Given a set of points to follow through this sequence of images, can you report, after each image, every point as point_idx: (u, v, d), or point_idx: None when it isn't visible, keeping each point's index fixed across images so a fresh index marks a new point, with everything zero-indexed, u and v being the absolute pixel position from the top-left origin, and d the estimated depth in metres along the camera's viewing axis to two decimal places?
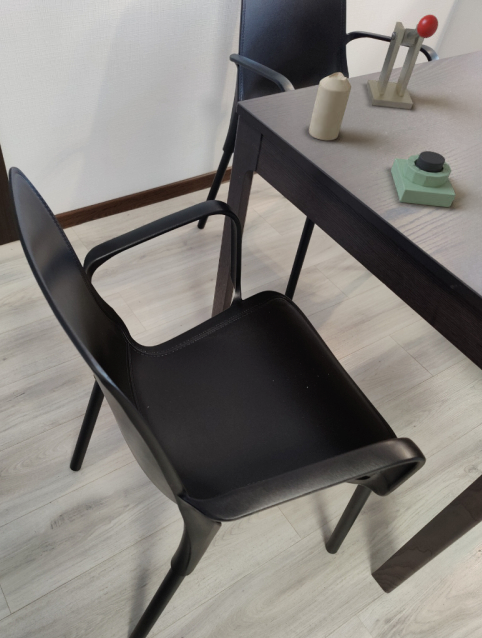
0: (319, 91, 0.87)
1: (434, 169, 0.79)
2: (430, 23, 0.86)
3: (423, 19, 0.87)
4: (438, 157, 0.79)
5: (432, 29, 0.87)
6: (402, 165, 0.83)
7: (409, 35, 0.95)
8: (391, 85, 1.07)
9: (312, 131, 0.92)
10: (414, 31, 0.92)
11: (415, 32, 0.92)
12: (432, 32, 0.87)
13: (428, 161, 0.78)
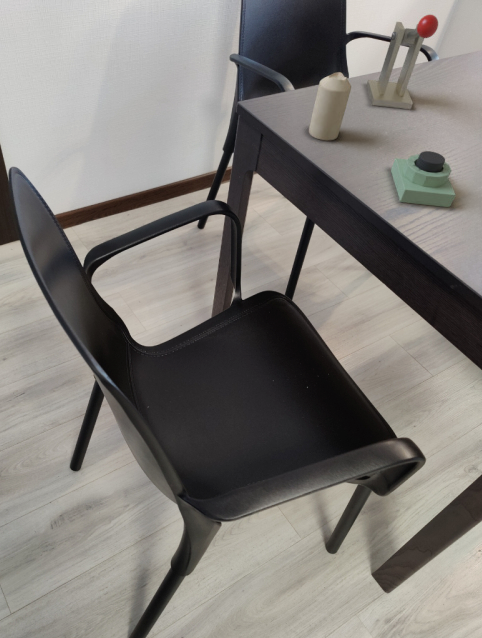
0: (319, 91, 0.87)
1: (434, 169, 0.79)
2: (430, 23, 0.86)
3: (423, 19, 0.87)
4: (438, 157, 0.79)
5: (432, 29, 0.87)
6: (402, 165, 0.83)
7: (409, 35, 0.95)
8: (391, 85, 1.07)
9: (312, 131, 0.92)
10: (414, 31, 0.92)
11: (415, 32, 0.92)
12: (432, 32, 0.87)
13: (428, 161, 0.78)
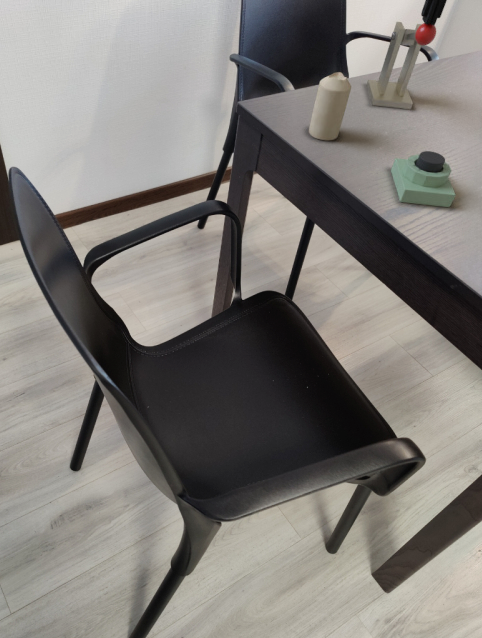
0: (319, 91, 0.87)
1: (434, 169, 0.79)
2: (428, 32, 0.87)
3: (421, 27, 0.87)
4: (438, 157, 0.79)
5: (430, 38, 0.87)
6: (402, 165, 0.83)
7: (409, 37, 0.95)
8: (391, 85, 1.07)
9: (312, 131, 0.92)
10: (413, 35, 0.93)
11: (414, 36, 0.92)
12: (430, 40, 0.88)
13: (428, 161, 0.78)
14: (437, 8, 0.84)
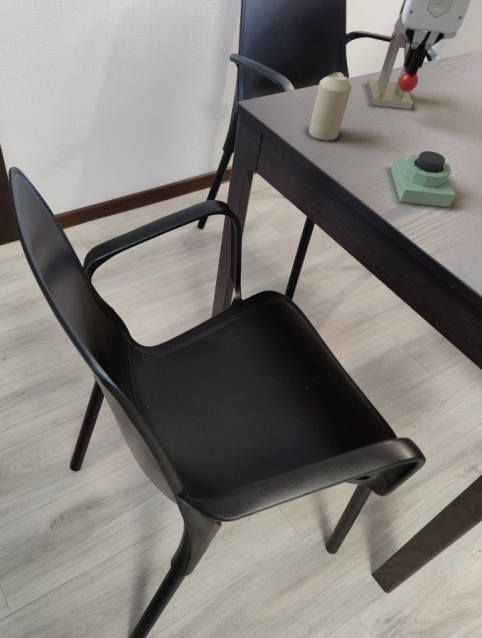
0: (319, 91, 0.87)
1: (434, 169, 0.79)
2: (408, 87, 0.94)
3: (403, 80, 0.93)
4: (438, 157, 0.79)
5: (409, 90, 0.95)
6: (402, 165, 0.83)
7: (404, 49, 0.97)
8: (391, 85, 1.07)
9: (312, 131, 0.92)
10: None
11: None
12: (410, 90, 0.95)
13: (428, 161, 0.78)
14: (418, 60, 0.90)
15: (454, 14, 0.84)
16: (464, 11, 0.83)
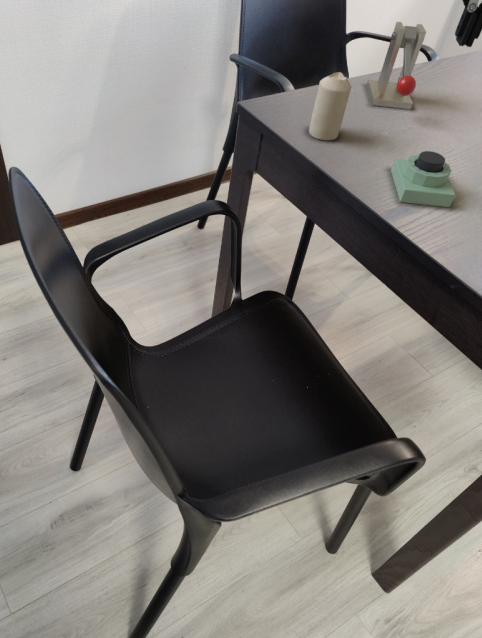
0: (319, 91, 0.87)
1: (434, 169, 0.79)
2: (405, 92, 0.95)
3: (401, 85, 0.94)
4: (438, 157, 0.79)
5: (407, 94, 0.96)
6: (402, 165, 0.83)
7: (404, 50, 0.97)
8: (391, 85, 1.07)
9: (312, 131, 0.92)
10: (404, 61, 0.96)
11: (403, 66, 0.96)
12: (407, 95, 0.96)
13: (428, 161, 0.78)
14: (475, 27, 0.70)
15: None
16: None
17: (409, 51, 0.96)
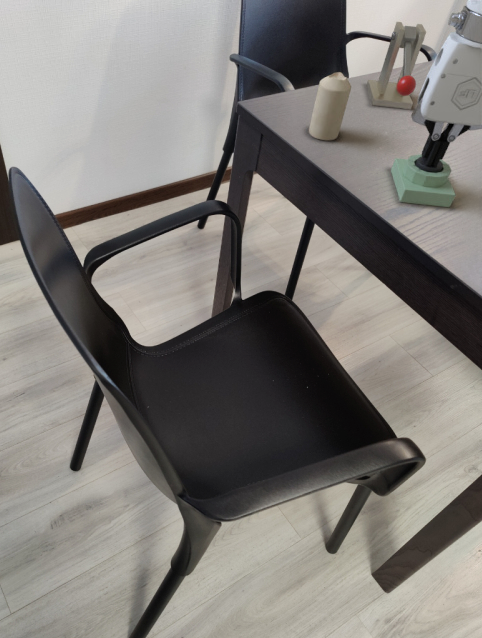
0: (319, 91, 0.87)
1: None
2: (405, 92, 0.95)
3: (401, 85, 0.94)
4: None
5: (407, 94, 0.96)
6: (402, 165, 0.83)
7: (404, 50, 0.97)
8: (391, 85, 1.07)
9: (312, 131, 0.92)
10: (404, 61, 0.96)
11: (403, 66, 0.96)
12: (407, 95, 0.96)
13: (425, 166, 0.79)
14: (439, 152, 0.77)
15: None
16: None
17: (409, 51, 0.96)
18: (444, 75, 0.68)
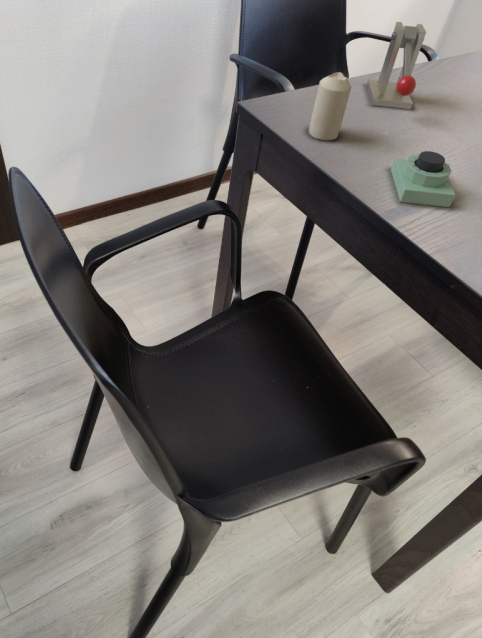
0: (319, 91, 0.87)
1: (434, 169, 0.79)
2: (405, 92, 0.95)
3: (401, 85, 0.94)
4: (438, 157, 0.79)
5: (407, 94, 0.96)
6: (402, 165, 0.83)
7: (404, 50, 0.97)
8: (391, 85, 1.07)
9: (312, 131, 0.92)
10: (404, 61, 0.96)
11: (403, 66, 0.96)
12: (407, 95, 0.96)
13: (428, 161, 0.78)
14: None
15: None
16: None
17: (409, 51, 0.96)
18: None
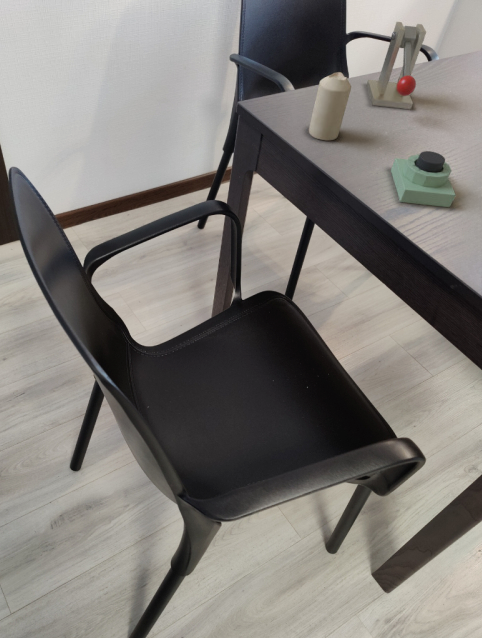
0: (319, 91, 0.87)
1: (434, 169, 0.79)
2: (405, 92, 0.95)
3: (401, 85, 0.94)
4: (438, 157, 0.79)
5: (407, 94, 0.96)
6: (402, 165, 0.83)
7: (404, 50, 0.97)
8: (391, 85, 1.07)
9: (312, 131, 0.92)
10: (404, 61, 0.96)
11: (403, 66, 0.96)
12: (407, 95, 0.96)
13: (428, 161, 0.78)
14: None
15: None
16: None
17: (409, 51, 0.96)
18: None
